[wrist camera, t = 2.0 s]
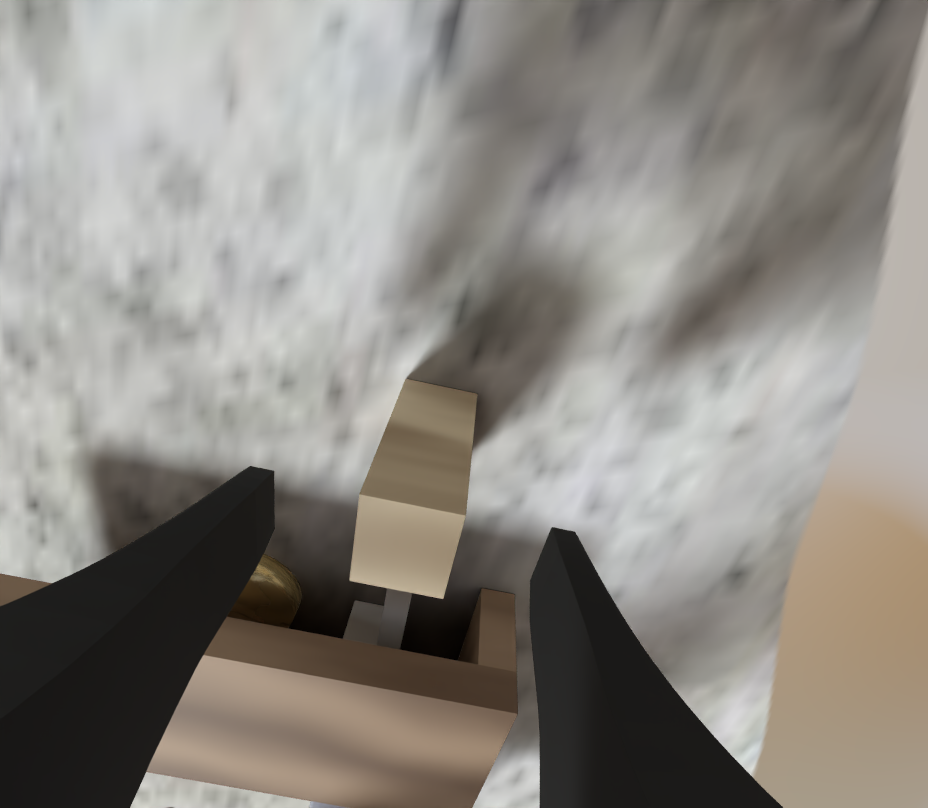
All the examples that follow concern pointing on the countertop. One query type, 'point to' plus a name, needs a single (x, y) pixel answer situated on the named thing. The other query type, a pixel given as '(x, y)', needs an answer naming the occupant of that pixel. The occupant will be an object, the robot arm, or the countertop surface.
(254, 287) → the countertop surface
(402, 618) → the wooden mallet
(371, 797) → the low wooden bench
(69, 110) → the countertop surface
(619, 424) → the countertop surface
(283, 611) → the brass disc
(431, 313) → the countertop surface
